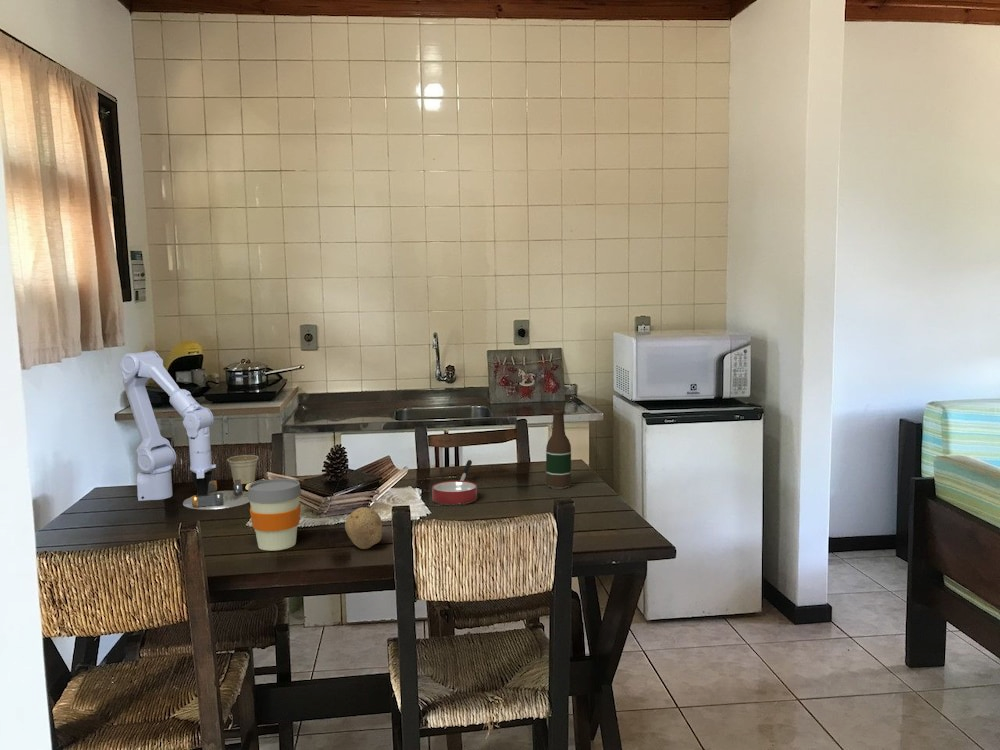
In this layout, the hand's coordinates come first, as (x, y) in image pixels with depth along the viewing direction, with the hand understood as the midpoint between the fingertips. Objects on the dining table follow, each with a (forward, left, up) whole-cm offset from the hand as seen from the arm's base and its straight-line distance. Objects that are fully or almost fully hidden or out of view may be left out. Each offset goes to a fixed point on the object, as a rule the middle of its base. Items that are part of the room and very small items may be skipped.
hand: (203, 497), depth 240 cm
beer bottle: (+103, -16, -2) cm, 105 cm away
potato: (+38, -54, -2) cm, 66 cm away
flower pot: (+11, +20, -2) cm, 23 cm away
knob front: (+1, -6, -1) cm, 6 cm away
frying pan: (+73, -11, -3) cm, 74 cm away
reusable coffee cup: (+18, -44, -2) cm, 48 cm away
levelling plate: (+4, 0, -2) cm, 5 cm away
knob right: (+10, +6, -1) cm, 11 cm away
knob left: (+1, +8, -1) cm, 8 cm away
